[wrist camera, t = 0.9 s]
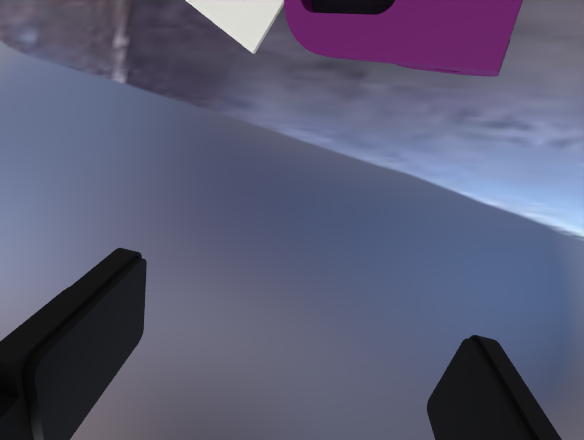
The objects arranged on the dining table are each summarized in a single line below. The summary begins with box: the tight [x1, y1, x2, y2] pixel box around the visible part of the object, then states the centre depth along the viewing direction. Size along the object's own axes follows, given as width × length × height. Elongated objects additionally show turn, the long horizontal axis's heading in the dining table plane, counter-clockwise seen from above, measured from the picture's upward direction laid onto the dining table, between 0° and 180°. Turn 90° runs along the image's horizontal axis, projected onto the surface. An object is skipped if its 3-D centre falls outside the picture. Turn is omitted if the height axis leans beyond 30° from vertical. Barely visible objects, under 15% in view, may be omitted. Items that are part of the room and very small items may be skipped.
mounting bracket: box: [284, 0, 523, 76], centre depth 28 cm, size 9×8×18 cm
